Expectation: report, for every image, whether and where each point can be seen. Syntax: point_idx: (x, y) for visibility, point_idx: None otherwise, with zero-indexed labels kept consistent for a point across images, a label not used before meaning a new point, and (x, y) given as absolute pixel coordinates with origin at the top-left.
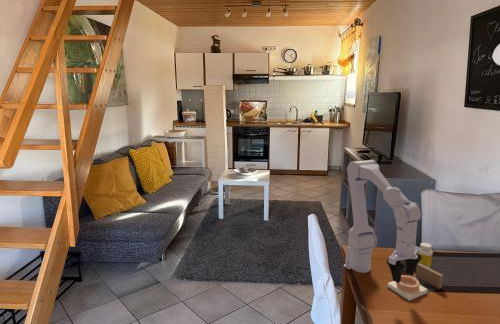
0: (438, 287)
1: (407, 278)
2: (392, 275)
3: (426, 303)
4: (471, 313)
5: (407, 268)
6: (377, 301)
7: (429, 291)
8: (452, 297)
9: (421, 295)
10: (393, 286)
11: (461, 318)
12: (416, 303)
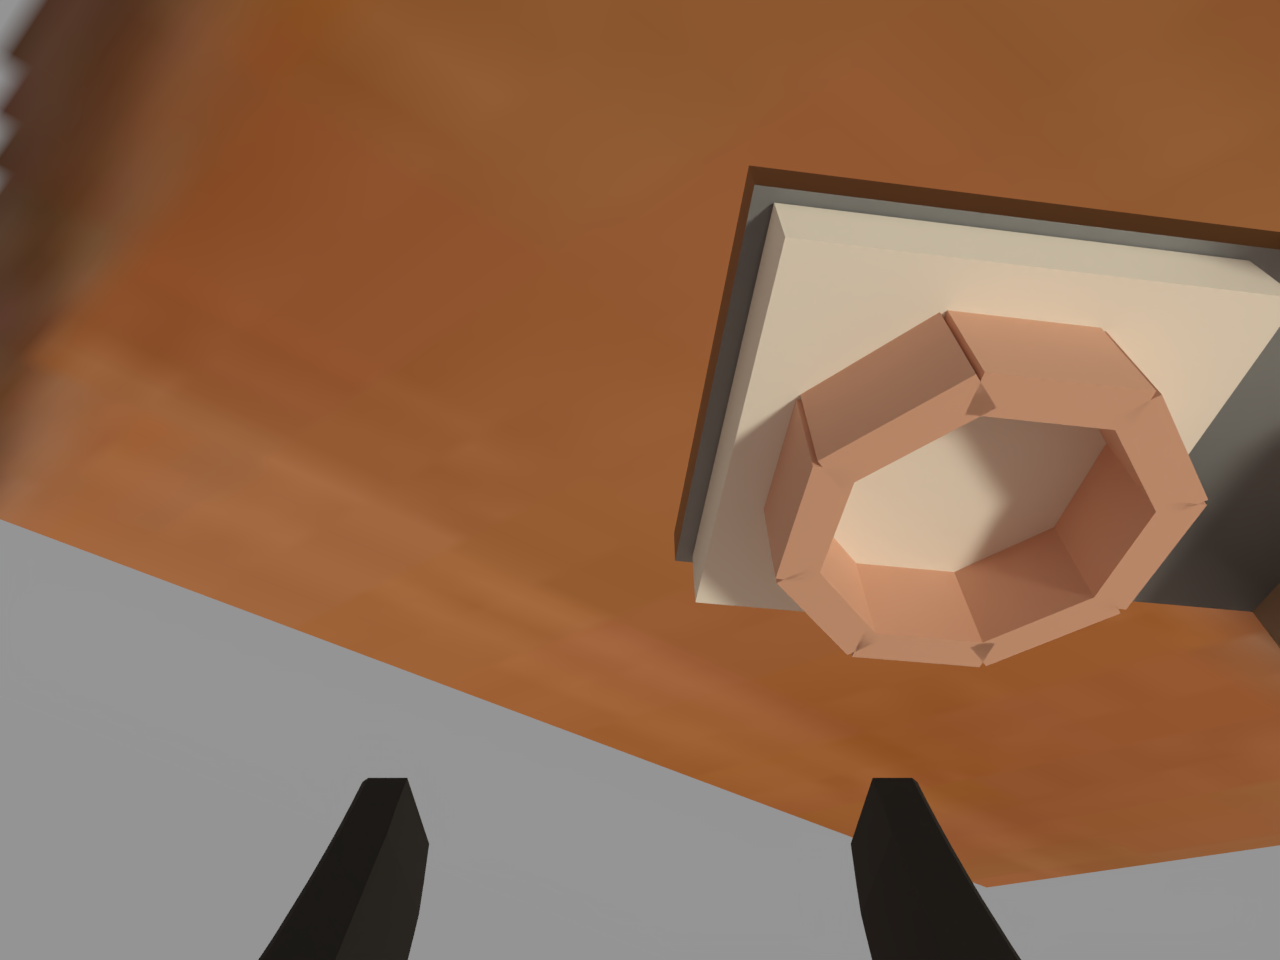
0: (1267, 618)
1: (1122, 461)
2: (309, 896)
3: None
4: (986, 805)
5: (908, 917)
6: (328, 296)
7: None
8: (1175, 681)
9: None
10: (754, 364)
11: (850, 796)
12: None
